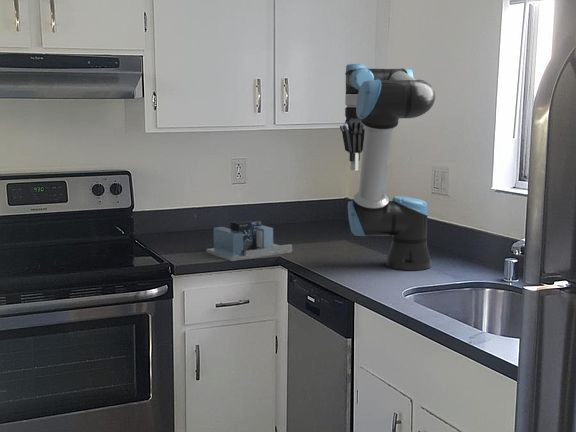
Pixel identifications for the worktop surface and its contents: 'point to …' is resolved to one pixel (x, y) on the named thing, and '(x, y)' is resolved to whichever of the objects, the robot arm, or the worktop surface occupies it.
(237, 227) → the box
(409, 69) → the robot arm
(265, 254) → the vise base
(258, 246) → the block
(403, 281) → the worktop surface
